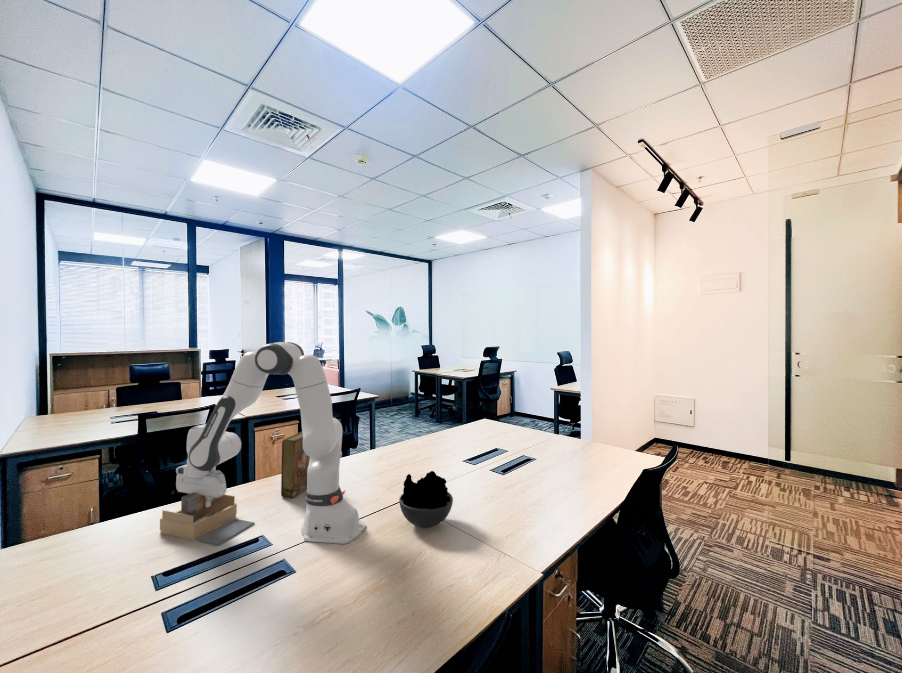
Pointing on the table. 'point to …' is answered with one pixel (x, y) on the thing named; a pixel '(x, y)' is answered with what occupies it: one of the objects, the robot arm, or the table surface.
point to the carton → (184, 525)
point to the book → (293, 466)
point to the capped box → (198, 505)
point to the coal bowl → (425, 500)
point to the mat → (226, 532)
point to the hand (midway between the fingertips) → (201, 505)
